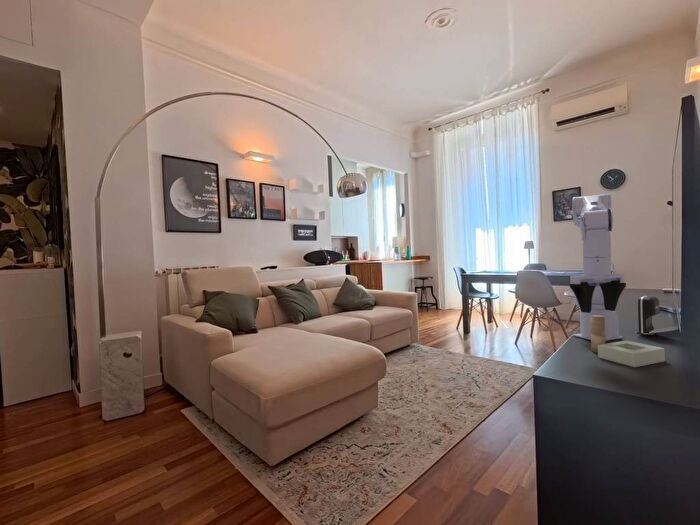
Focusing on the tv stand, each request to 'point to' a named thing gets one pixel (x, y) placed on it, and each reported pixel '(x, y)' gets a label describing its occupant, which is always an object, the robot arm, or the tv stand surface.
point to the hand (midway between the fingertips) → (598, 311)
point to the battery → (647, 313)
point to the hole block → (631, 353)
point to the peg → (597, 331)
